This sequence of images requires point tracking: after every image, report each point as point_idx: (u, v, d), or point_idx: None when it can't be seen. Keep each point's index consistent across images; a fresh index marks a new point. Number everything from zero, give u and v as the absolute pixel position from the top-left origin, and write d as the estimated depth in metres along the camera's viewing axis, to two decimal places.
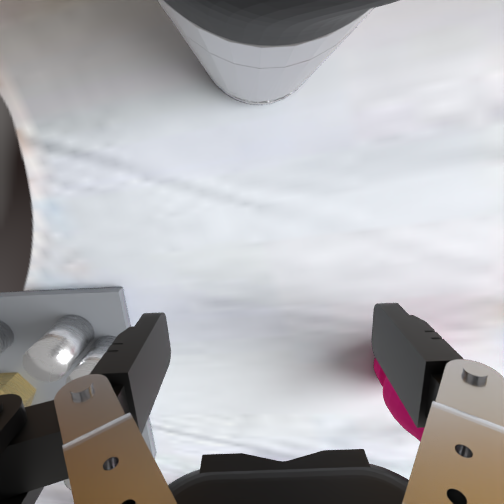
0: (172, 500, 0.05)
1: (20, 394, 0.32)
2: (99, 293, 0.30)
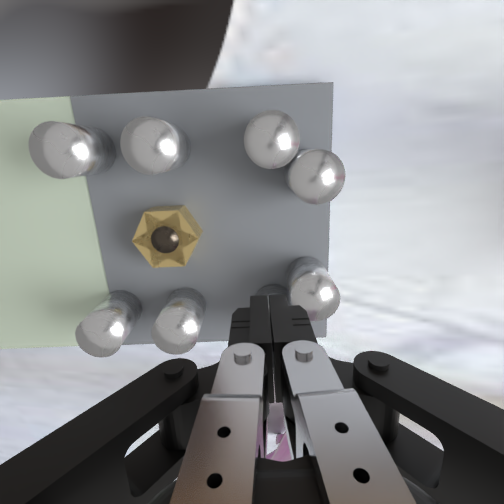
0: (248, 503, 0.05)
1: (193, 226, 0.26)
2: (308, 84, 0.24)
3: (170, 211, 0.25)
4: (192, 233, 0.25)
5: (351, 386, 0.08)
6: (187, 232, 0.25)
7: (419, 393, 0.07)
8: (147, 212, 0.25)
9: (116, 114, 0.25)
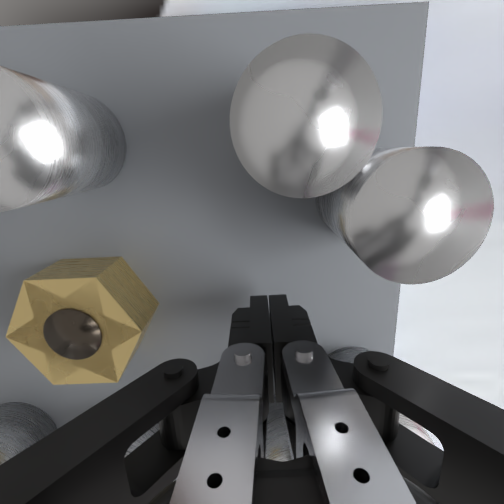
0: (248, 503, 0.05)
1: (135, 302, 0.13)
2: (375, 7, 0.11)
3: (79, 279, 0.12)
4: (128, 322, 0.12)
5: (351, 386, 0.08)
6: (118, 319, 0.12)
7: (419, 393, 0.07)
8: (31, 281, 0.12)
9: None
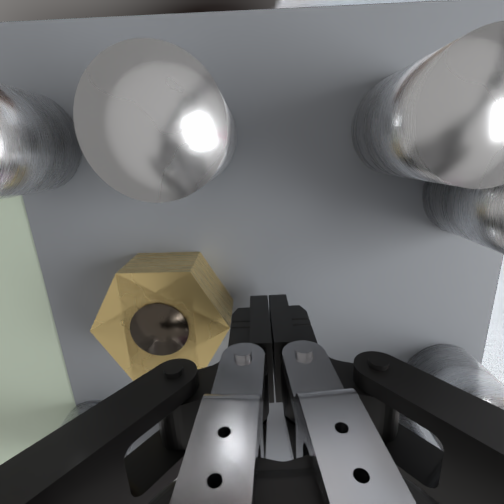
0: None
1: (219, 298, 0.13)
2: (502, 0, 0.11)
3: (172, 273, 0.11)
4: (217, 318, 0.12)
5: (351, 386, 0.08)
6: (207, 315, 0.12)
7: (419, 393, 0.07)
8: (122, 274, 0.11)
9: (81, 65, 0.12)
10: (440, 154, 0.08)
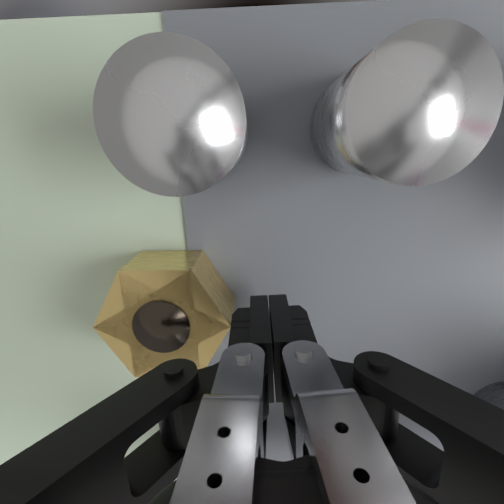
0: (248, 503, 0.05)
1: (220, 297, 0.13)
2: None
3: (174, 271, 0.11)
4: (218, 316, 0.12)
5: (351, 386, 0.08)
6: (208, 314, 0.12)
7: (419, 393, 0.07)
8: (125, 272, 0.12)
9: (259, 53, 0.12)
10: None
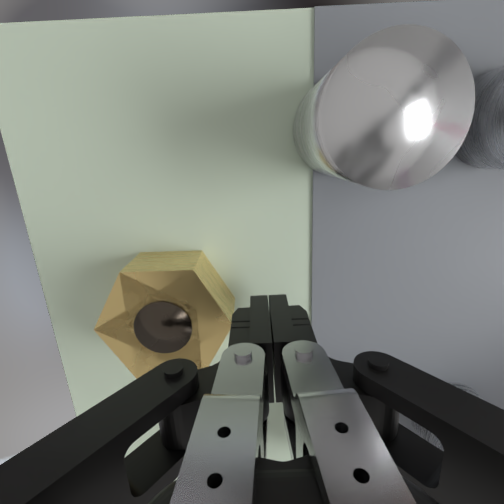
0: None
1: (221, 296, 0.13)
2: None
3: (175, 272, 0.12)
4: (220, 315, 0.12)
5: (351, 386, 0.08)
6: (211, 313, 0.12)
7: (419, 393, 0.07)
8: (126, 273, 0.12)
9: None
10: None
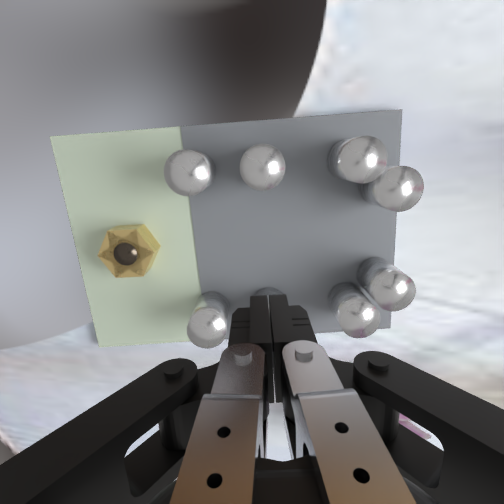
0: (248, 503, 0.05)
1: (150, 242, 0.30)
2: (381, 111, 0.29)
3: (129, 230, 0.29)
4: (148, 248, 0.30)
5: (351, 386, 0.08)
6: (144, 247, 0.30)
7: (419, 393, 0.07)
8: (109, 231, 0.29)
9: (218, 140, 0.29)
10: (350, 173, 0.25)
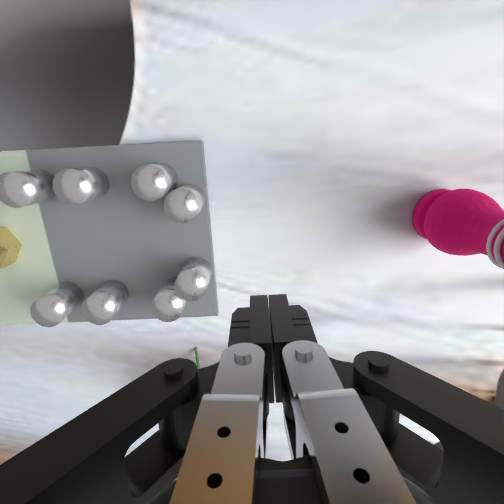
0: (249, 503, 0.05)
1: (7, 241, 0.38)
2: (185, 142, 0.36)
3: None
4: (3, 246, 0.37)
5: (351, 386, 0.08)
6: None
7: (419, 393, 0.07)
8: None
9: (57, 161, 0.37)
10: (139, 193, 0.33)
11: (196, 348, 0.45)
